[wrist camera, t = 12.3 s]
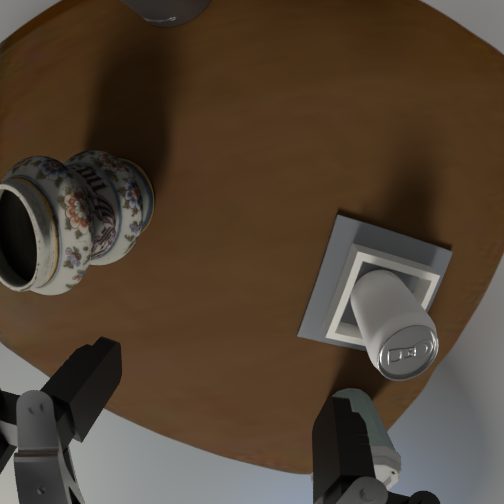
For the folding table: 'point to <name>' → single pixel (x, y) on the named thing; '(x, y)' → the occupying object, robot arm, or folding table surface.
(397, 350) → the can
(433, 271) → the board
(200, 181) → the folding table surface
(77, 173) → the apothecary jar
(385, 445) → the disposable coffee cup
